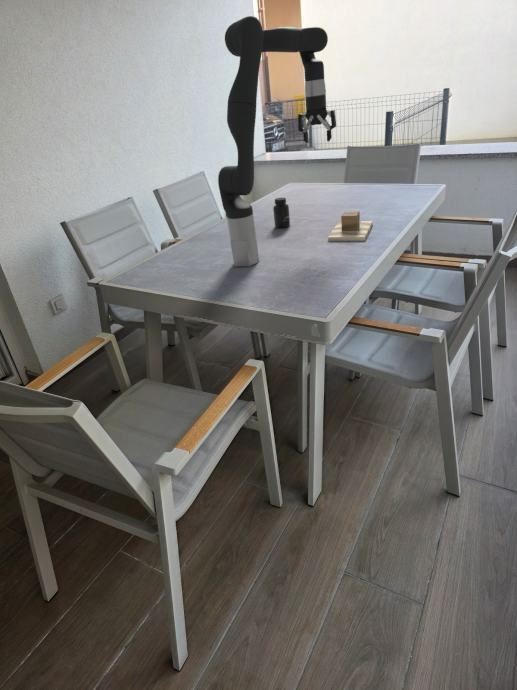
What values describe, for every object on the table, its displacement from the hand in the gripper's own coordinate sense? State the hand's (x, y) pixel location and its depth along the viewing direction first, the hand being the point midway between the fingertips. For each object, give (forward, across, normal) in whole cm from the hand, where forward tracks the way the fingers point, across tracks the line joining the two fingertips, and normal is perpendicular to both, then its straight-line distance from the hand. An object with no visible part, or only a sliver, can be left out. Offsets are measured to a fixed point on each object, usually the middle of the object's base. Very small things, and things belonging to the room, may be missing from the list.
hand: (317, 142), depth 171 cm
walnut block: (+32, +14, -9) cm, 36 cm away
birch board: (+33, +14, -9) cm, 37 cm away
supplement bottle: (+33, -18, +1) cm, 38 cm away
